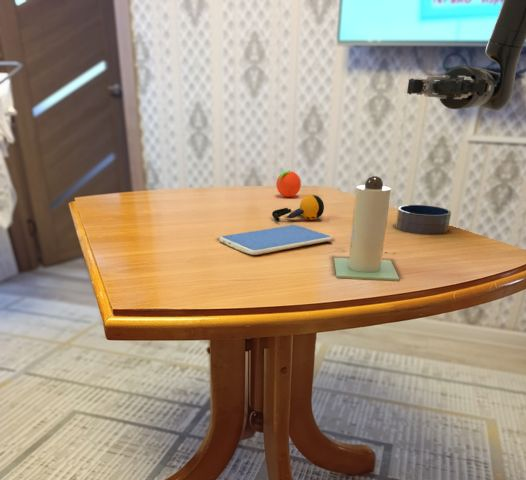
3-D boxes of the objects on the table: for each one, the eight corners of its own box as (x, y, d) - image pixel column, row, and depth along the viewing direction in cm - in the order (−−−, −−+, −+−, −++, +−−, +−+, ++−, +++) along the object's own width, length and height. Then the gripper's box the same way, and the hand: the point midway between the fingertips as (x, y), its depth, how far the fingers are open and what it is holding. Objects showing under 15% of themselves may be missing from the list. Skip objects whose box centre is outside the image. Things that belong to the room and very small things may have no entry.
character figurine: (284, 233, 114) (331, 213, 116) (275, 209, 113) (322, 189, 115) (272, 235, 124) (315, 217, 126) (263, 213, 122) (307, 195, 124)
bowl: (440, 225, 116) (444, 205, 114) (452, 238, 106) (456, 216, 104) (392, 223, 117) (394, 203, 115) (399, 235, 107) (402, 214, 105)
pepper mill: (378, 263, 88) (390, 174, 81) (382, 273, 83) (394, 179, 77) (347, 261, 88) (356, 172, 82) (349, 271, 84) (358, 177, 77)
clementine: (288, 200, 139) (289, 173, 136) (268, 197, 143) (269, 170, 140) (305, 196, 145) (306, 170, 141) (285, 193, 149) (286, 168, 145)
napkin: (390, 262, 90) (390, 260, 90) (399, 281, 81) (399, 278, 81) (333, 259, 91) (334, 257, 91) (336, 278, 82) (336, 275, 82)
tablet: (253, 257, 91) (253, 250, 90) (217, 241, 100) (217, 235, 99) (333, 243, 101) (334, 236, 100) (294, 229, 110) (295, 223, 109)
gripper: (432, 66, 103) (400, 62, 92) (506, 66, 96) (481, 61, 84) (426, 107, 107) (394, 108, 95) (496, 110, 99) (471, 111, 88)
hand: (435, 86), depth 90 cm, fingers open, 8 cm apart
